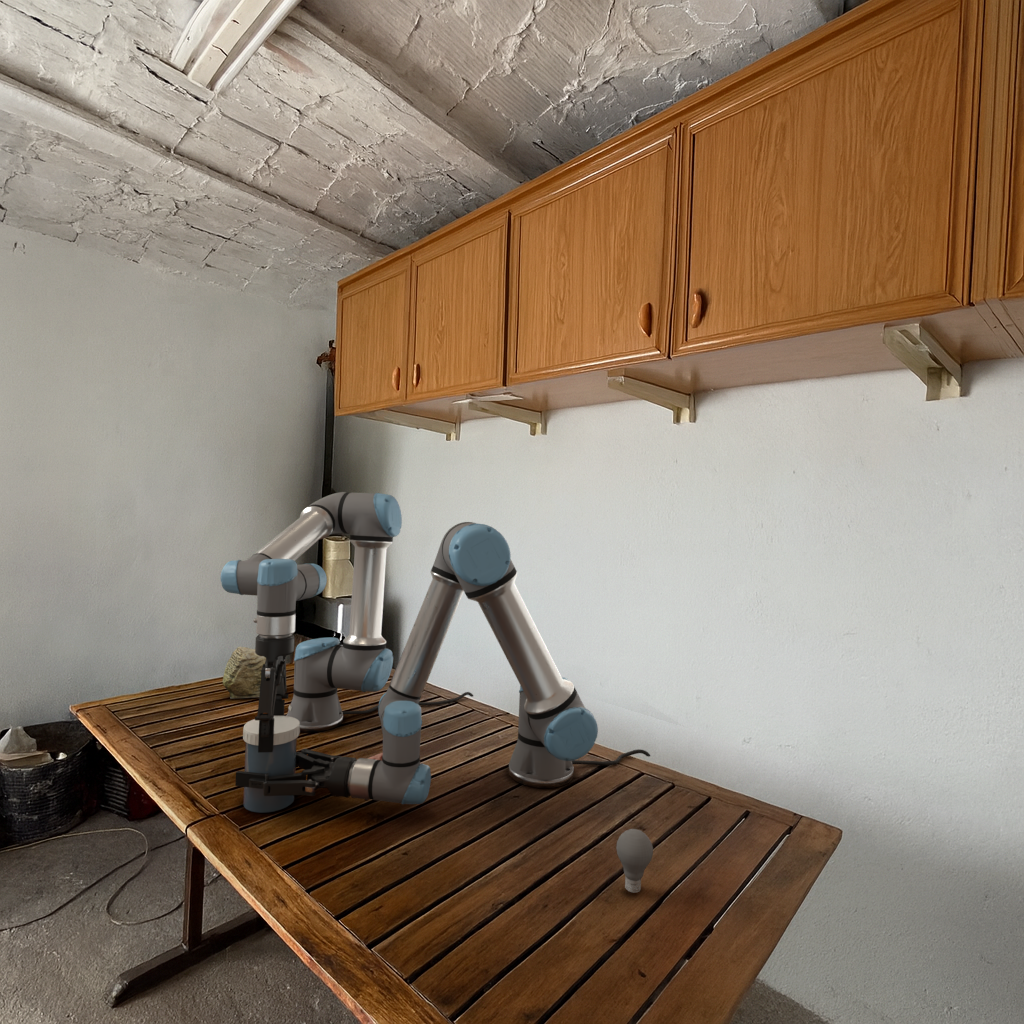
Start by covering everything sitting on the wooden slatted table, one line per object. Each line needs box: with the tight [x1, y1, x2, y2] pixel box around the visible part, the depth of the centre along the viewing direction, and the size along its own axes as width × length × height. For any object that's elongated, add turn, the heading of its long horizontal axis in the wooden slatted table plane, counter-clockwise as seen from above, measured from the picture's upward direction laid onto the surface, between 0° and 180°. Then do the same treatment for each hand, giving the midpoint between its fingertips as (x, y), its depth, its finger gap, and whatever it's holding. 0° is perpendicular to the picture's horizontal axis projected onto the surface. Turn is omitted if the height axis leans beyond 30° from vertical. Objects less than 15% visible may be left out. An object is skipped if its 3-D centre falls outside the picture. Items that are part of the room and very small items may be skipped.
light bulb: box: [615, 828, 654, 894], centre depth 106 cm, size 6×6×10 cm
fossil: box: [222, 646, 288, 699], centre depth 198 cm, size 9×18×15 cm, turn 132°
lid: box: [242, 715, 301, 745], centre depth 131 cm, size 11×11×2 cm
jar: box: [243, 737, 298, 814], centre depth 131 cm, size 10×10×16 cm
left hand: (271, 740), depth 131 cm, fingers closed on lid, 11 cm apart
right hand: (250, 767), depth 131 cm, fingers closed on jar, 10 cm apart
